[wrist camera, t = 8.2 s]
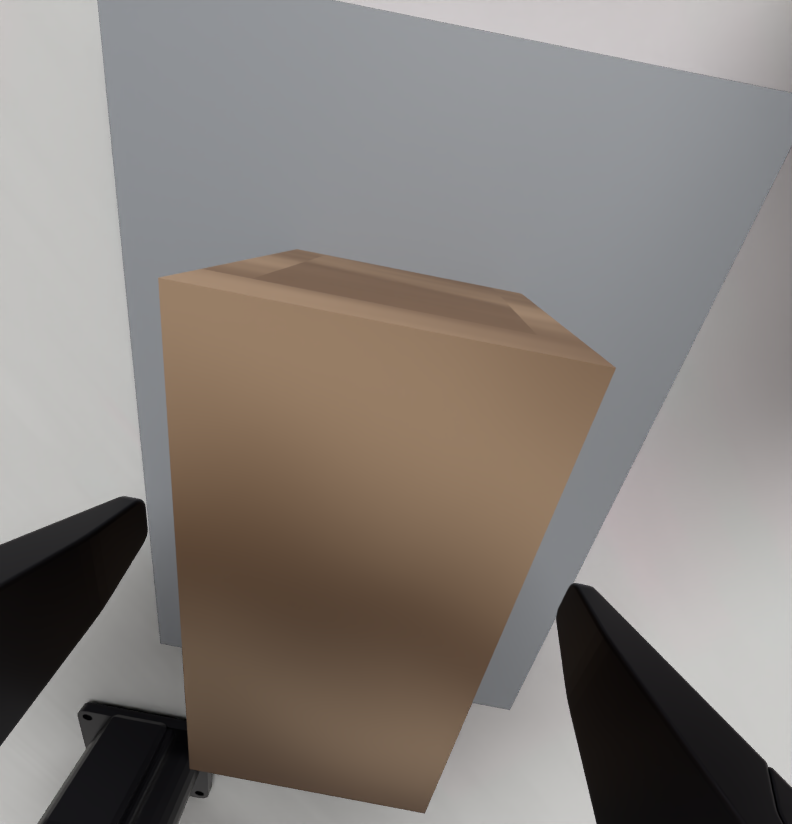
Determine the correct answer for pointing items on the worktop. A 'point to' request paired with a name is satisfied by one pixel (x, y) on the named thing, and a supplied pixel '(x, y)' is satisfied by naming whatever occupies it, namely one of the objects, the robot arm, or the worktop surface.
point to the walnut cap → (355, 508)
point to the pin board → (435, 205)
